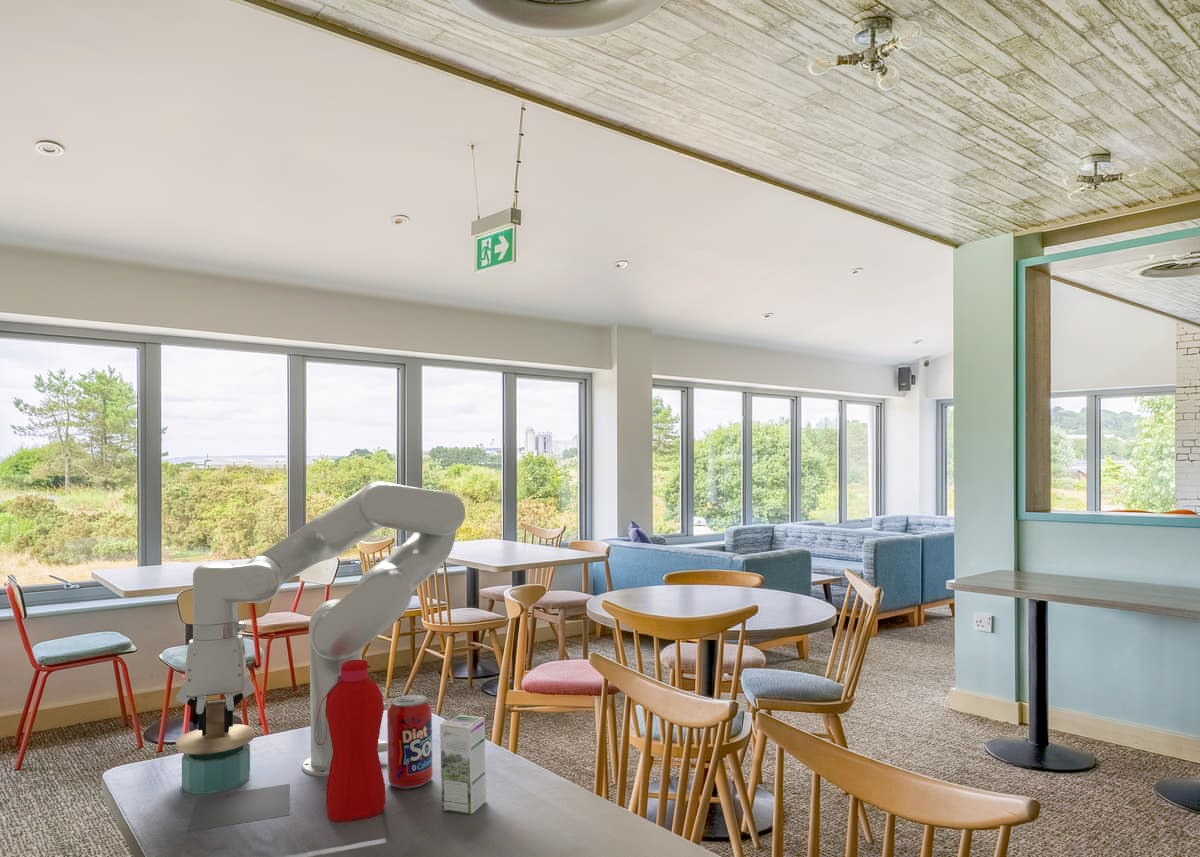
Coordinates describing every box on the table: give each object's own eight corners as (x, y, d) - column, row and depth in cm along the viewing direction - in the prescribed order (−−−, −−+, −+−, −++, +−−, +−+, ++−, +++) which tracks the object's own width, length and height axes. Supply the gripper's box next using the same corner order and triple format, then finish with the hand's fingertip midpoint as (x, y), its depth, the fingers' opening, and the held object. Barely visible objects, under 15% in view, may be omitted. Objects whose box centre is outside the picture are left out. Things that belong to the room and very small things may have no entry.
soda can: (395, 774, 152) (394, 693, 153) (437, 774, 152) (435, 692, 152) (382, 792, 144) (381, 706, 145) (426, 791, 144) (425, 705, 144)
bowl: (251, 768, 157) (251, 737, 157) (248, 790, 146) (248, 756, 146) (186, 778, 153) (186, 745, 153) (178, 801, 142) (178, 766, 142)
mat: (289, 787, 147) (289, 783, 147) (289, 818, 134) (289, 814, 134) (197, 801, 142) (197, 797, 142) (187, 835, 129) (187, 831, 129)
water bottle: (314, 808, 138) (312, 659, 139) (381, 797, 142) (379, 652, 143) (317, 831, 129) (315, 672, 130) (388, 818, 133) (386, 664, 134)
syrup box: (487, 801, 139) (486, 715, 140) (471, 816, 134) (469, 726, 134) (457, 797, 141) (456, 712, 142) (440, 812, 136) (438, 723, 136)
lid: (255, 725, 158) (255, 689, 158) (252, 747, 146) (252, 708, 146) (180, 735, 153) (180, 697, 154) (171, 758, 141) (171, 717, 141)
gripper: (264, 623, 157) (264, 720, 156) (168, 631, 151) (168, 732, 150) (263, 631, 150) (263, 732, 149) (162, 639, 144) (162, 745, 143)
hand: (215, 731), depth 150 cm, fingers closed on lid, 3 cm apart
